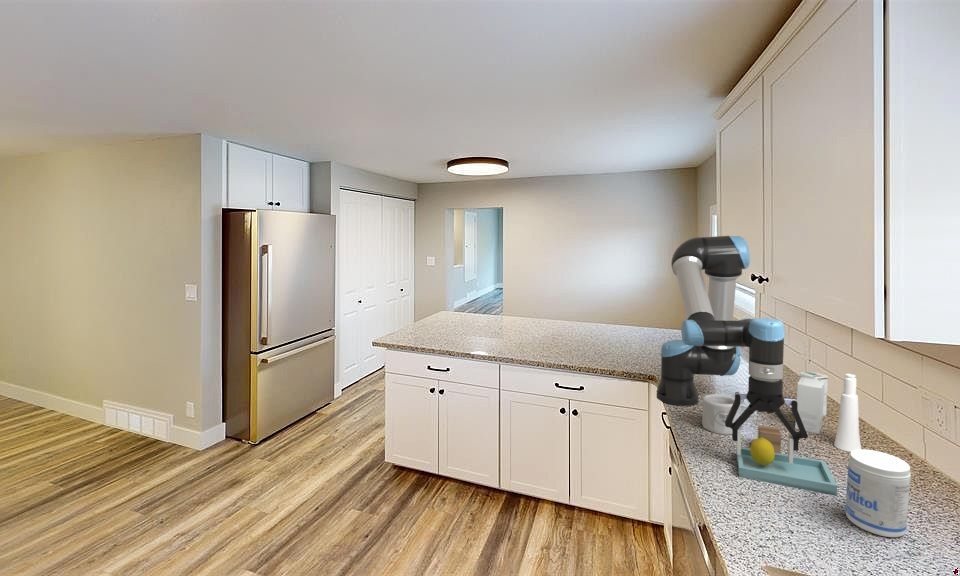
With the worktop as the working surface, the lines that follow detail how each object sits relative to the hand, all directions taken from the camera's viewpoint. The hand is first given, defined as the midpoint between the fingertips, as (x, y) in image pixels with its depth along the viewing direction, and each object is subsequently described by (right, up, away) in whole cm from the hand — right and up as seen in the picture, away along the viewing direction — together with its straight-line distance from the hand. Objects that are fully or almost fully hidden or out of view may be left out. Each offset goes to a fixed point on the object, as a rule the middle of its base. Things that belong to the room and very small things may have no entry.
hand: (763, 456), depth 113 cm
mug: (+5, -1, +26) cm, 26 cm away
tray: (+3, -3, -2) cm, 5 cm away
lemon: (0, -3, 0) cm, 3 cm away
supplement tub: (+8, -5, -23) cm, 25 cm away
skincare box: (+31, 0, +24) cm, 39 cm away
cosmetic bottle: (+31, -1, +10) cm, 33 cm away
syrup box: (+40, +1, +34) cm, 53 cm away
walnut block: (+9, -2, +11) cm, 14 cm away
